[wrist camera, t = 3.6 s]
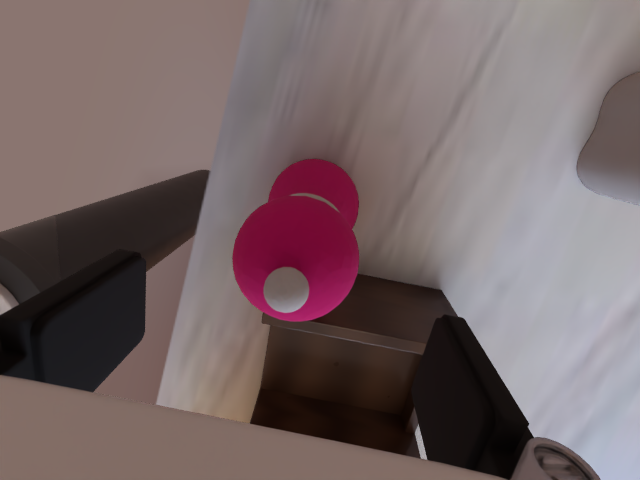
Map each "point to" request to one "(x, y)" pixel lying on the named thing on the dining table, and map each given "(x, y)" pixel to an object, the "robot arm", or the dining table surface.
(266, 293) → the pepper mill
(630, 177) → the lumpy-topped squat cylinder
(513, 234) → the dining table surface
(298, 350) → the shelf
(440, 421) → the robot arm
